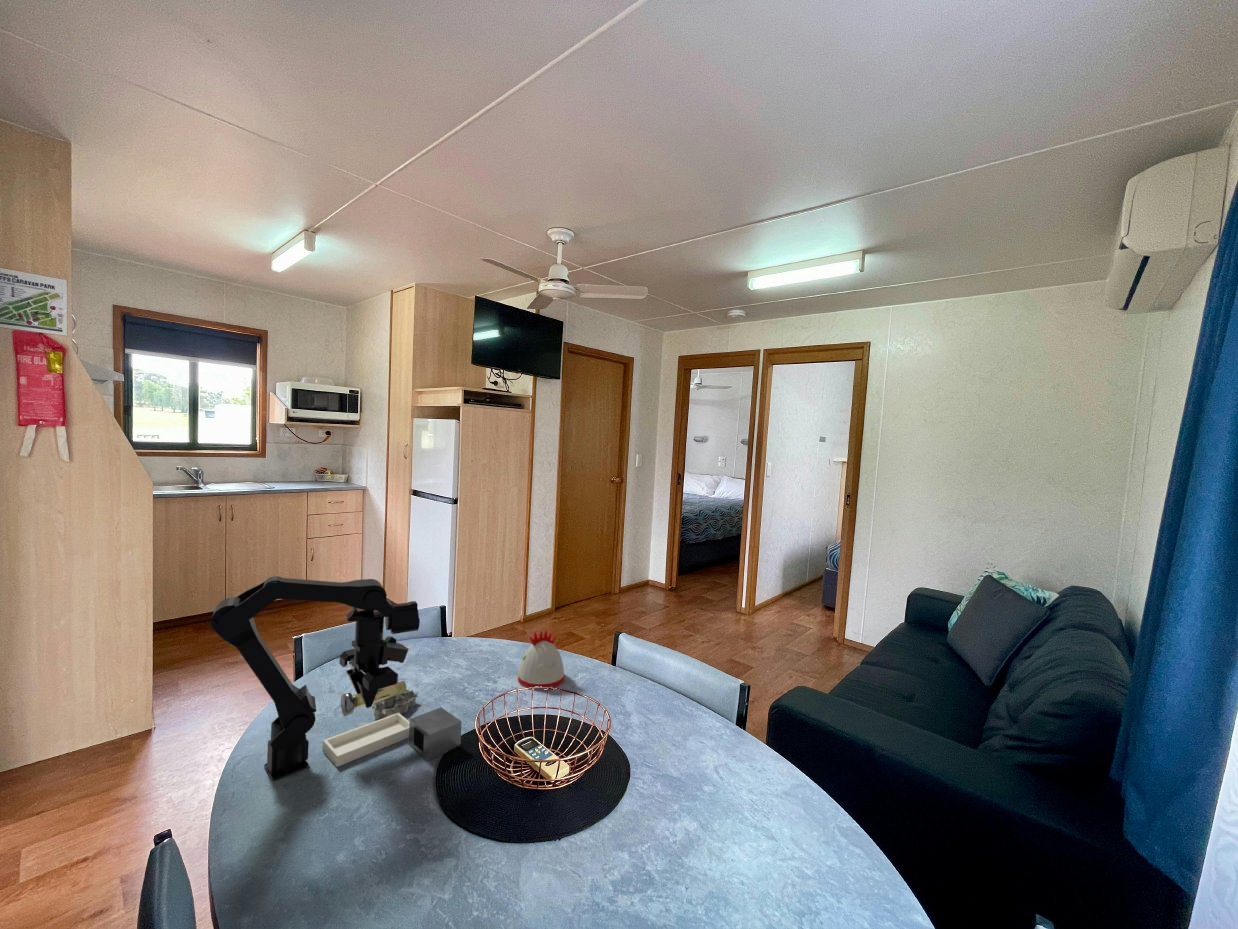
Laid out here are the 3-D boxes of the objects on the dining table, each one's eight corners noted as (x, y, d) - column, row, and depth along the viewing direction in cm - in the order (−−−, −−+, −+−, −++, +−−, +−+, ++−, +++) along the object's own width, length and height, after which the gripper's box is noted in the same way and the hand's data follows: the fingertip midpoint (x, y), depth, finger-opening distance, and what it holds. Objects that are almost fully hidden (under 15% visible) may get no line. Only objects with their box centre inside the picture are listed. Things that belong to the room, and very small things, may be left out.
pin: (347, 719, 110) (348, 698, 110) (340, 711, 113) (340, 691, 113) (407, 699, 119) (408, 680, 119) (399, 693, 123) (399, 674, 123)
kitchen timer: (513, 672, 157) (515, 624, 157) (555, 666, 163) (558, 620, 162) (524, 693, 144) (527, 641, 144) (570, 685, 150) (572, 636, 150)
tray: (337, 767, 108) (337, 756, 108) (322, 750, 113) (323, 740, 113) (414, 735, 121) (414, 725, 121) (398, 721, 126) (398, 712, 126)
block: (428, 761, 111) (429, 735, 111) (408, 743, 117) (409, 719, 117) (460, 746, 118) (461, 721, 117) (440, 730, 123) (441, 707, 123)
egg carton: (393, 724, 126) (393, 707, 126) (368, 718, 128) (368, 702, 127) (420, 703, 136) (421, 688, 136) (397, 698, 138) (397, 683, 138)
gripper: (422, 640, 114) (419, 708, 114) (388, 618, 127) (385, 679, 127) (371, 653, 106) (368, 726, 106) (339, 628, 118) (337, 693, 119)
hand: (366, 704), depth 115 cm, fingers closed on pin, 3 cm apart
